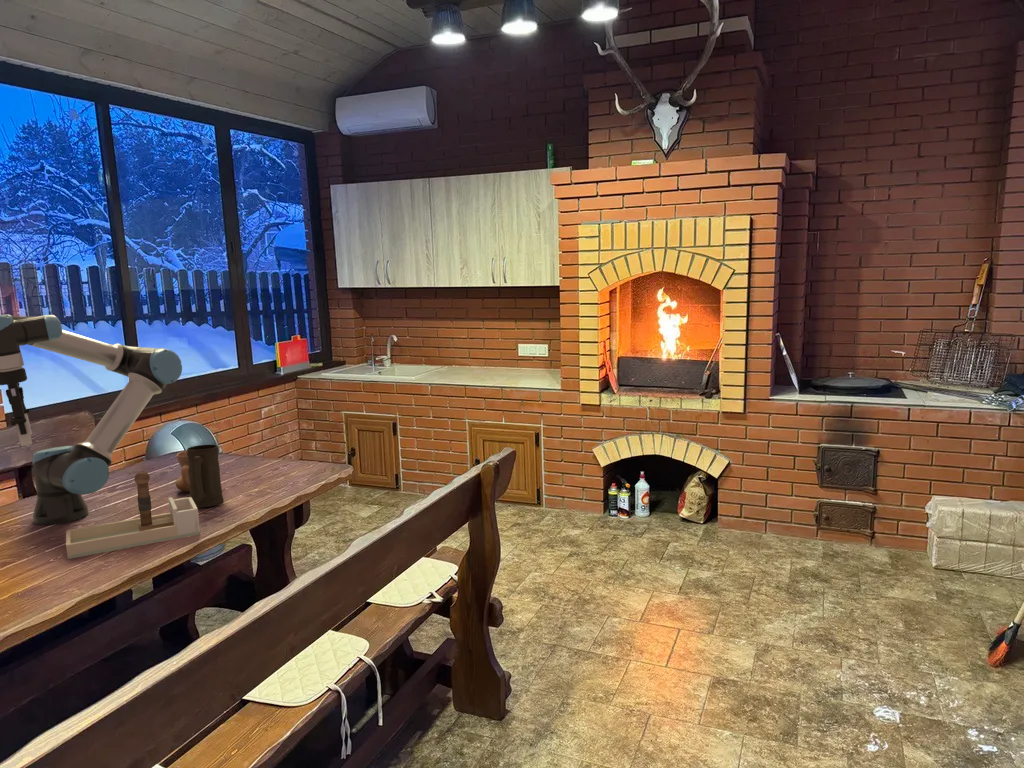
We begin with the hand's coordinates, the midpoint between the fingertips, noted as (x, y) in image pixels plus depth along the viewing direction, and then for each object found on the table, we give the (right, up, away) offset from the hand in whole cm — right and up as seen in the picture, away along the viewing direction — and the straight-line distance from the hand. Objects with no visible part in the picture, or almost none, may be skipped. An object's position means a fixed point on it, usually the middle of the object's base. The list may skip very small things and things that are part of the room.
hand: (27, 440), depth 208 cm
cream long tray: (+30, -30, +4) cm, 42 cm away
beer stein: (+38, -25, +33) cm, 57 cm away
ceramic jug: (+27, -22, +51) cm, 62 cm away
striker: (+35, -28, +7) cm, 45 cm away
